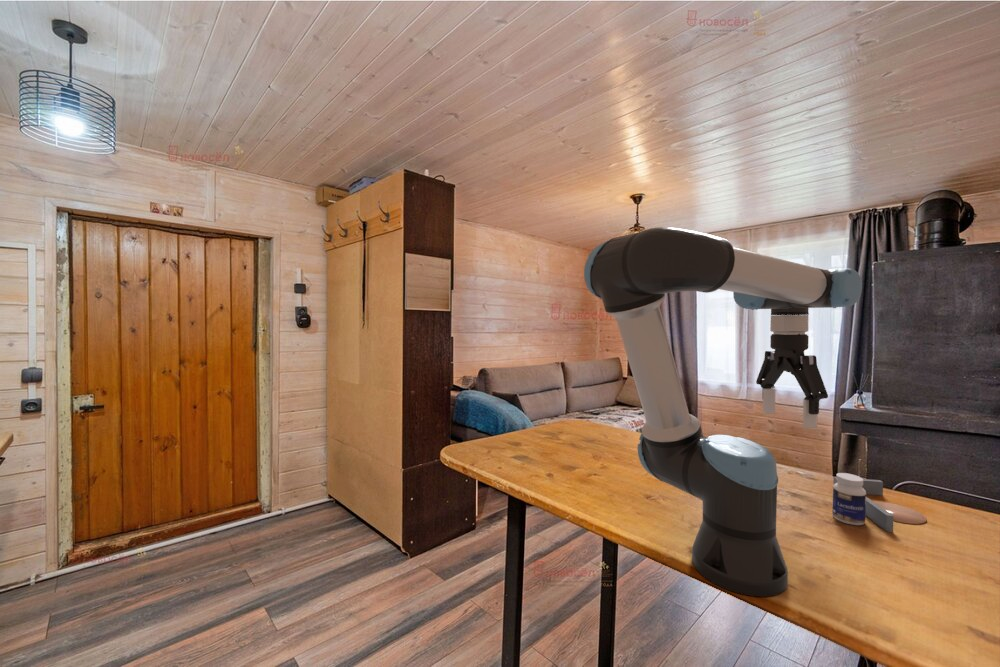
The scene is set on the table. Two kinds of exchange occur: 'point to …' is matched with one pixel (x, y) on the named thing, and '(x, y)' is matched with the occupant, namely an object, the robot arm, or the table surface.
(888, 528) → the low walls
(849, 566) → the table surface
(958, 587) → the table surface
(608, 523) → the table surface
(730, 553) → the robot arm
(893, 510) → the pad
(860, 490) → the pill bottle
